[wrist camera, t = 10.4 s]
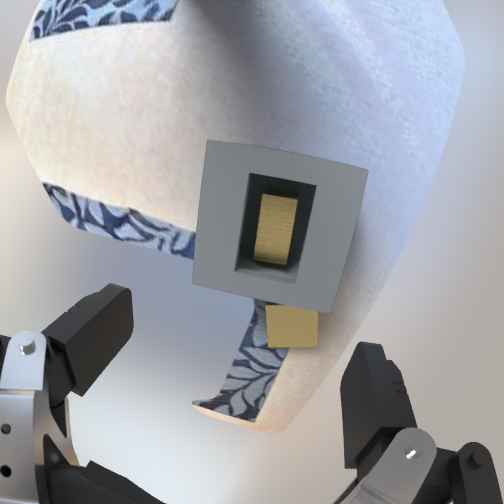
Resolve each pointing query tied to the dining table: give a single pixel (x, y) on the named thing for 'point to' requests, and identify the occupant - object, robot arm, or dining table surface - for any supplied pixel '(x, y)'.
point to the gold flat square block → (275, 225)
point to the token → (291, 326)
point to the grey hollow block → (247, 218)
